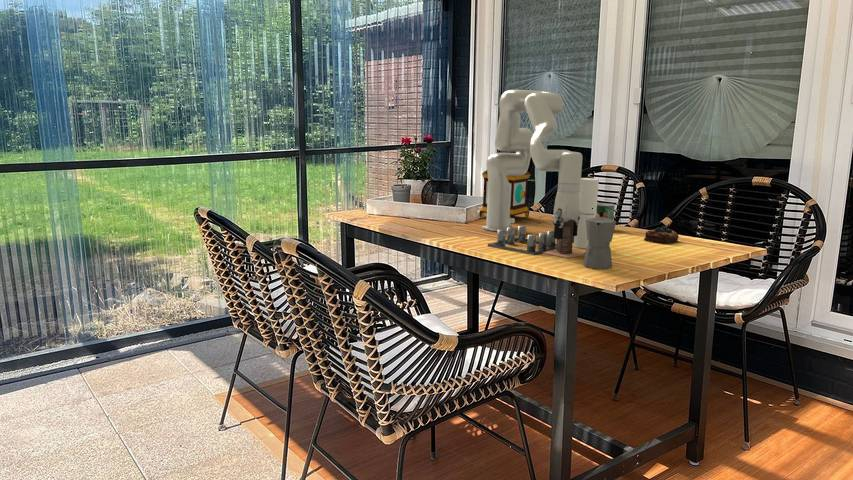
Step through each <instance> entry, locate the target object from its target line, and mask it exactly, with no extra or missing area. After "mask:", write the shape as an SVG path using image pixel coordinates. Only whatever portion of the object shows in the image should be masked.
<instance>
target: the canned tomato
mask: <svg viewBox="0 0 853 480" xmlns="http://www.w3.org/2000/svg"><path fill="white" fill-rule="evenodd" d="M599 211H603V212H604V215H603V216H605V217H606V218H608V219H612V220H614V218H615V204H614V203H608V202H607V203H606V202H597V209H596V217H599Z"/></svg>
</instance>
